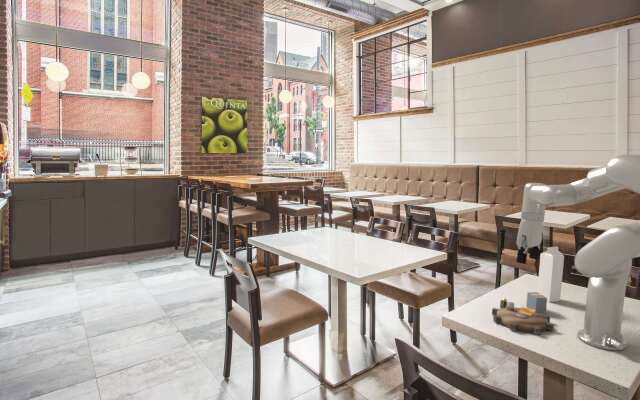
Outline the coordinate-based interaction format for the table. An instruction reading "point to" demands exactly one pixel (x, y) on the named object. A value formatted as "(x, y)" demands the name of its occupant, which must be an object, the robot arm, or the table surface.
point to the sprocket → (522, 319)
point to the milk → (551, 274)
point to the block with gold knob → (503, 303)
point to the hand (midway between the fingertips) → (527, 260)
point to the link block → (536, 302)
